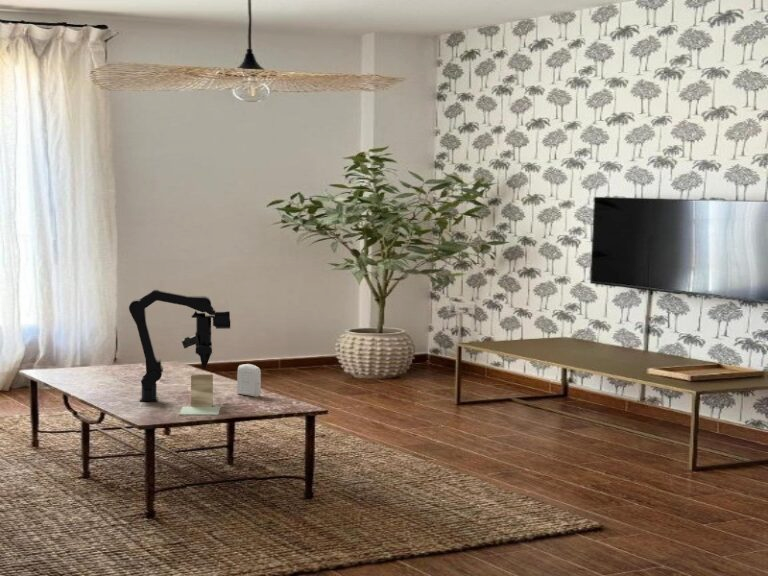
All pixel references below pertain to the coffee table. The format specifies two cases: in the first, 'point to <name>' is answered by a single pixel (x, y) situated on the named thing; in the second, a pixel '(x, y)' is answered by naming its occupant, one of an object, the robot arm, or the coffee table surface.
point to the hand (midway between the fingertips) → (203, 368)
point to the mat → (199, 411)
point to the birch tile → (201, 390)
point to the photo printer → (249, 380)
